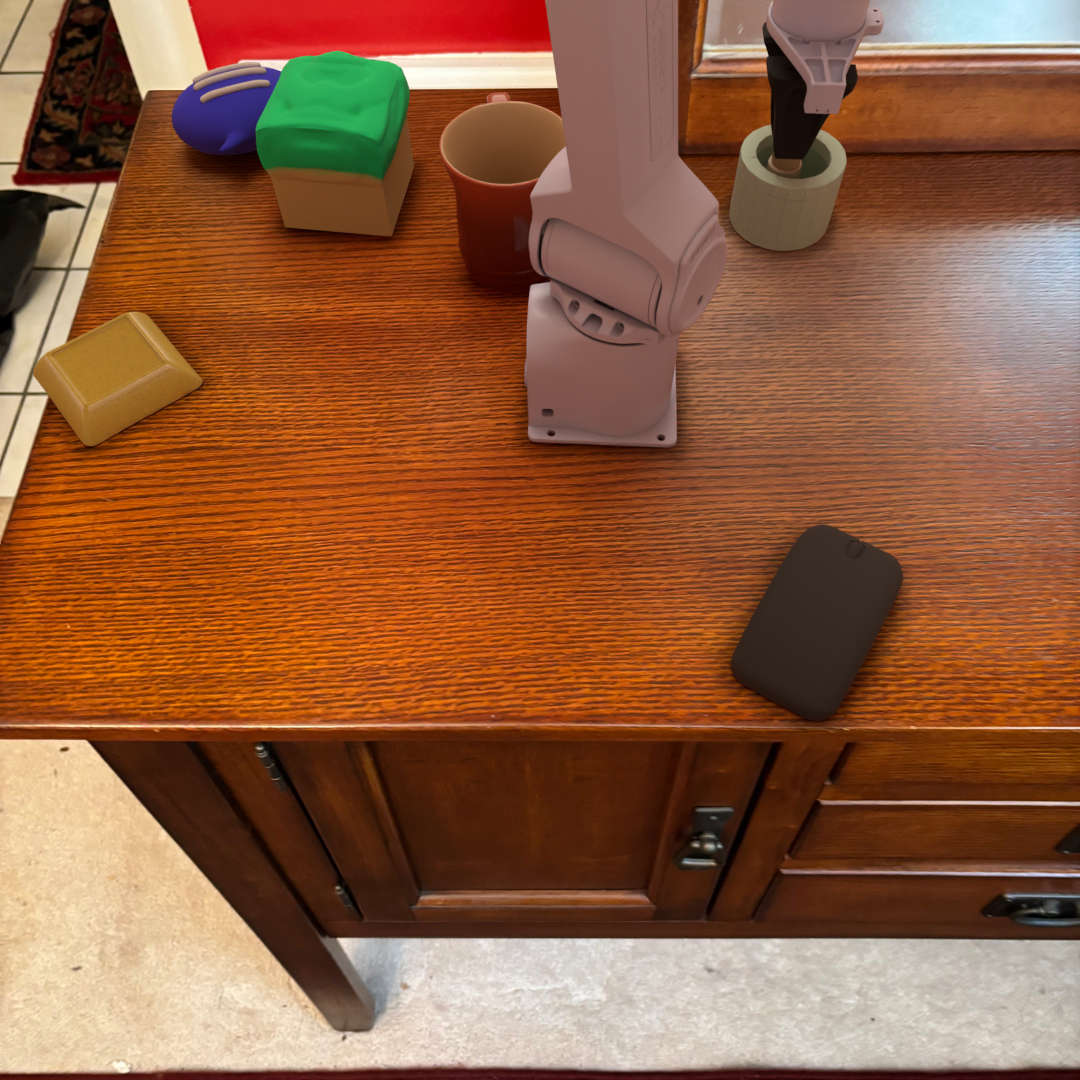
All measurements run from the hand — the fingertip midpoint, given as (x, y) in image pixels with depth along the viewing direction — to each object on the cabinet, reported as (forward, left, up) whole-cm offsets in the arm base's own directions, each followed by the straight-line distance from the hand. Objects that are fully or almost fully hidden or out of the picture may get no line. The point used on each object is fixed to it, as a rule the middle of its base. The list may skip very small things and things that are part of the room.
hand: (787, 144), depth 68 cm
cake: (-32, +1, -6) cm, 33 cm away
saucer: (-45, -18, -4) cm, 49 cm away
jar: (+1, 0, -6) cm, 6 cm away
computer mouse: (0, -34, -6) cm, 35 cm away
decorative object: (-40, +2, -2) cm, 40 cm away
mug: (-19, -4, -7) cm, 21 cm away
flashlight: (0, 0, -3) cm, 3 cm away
